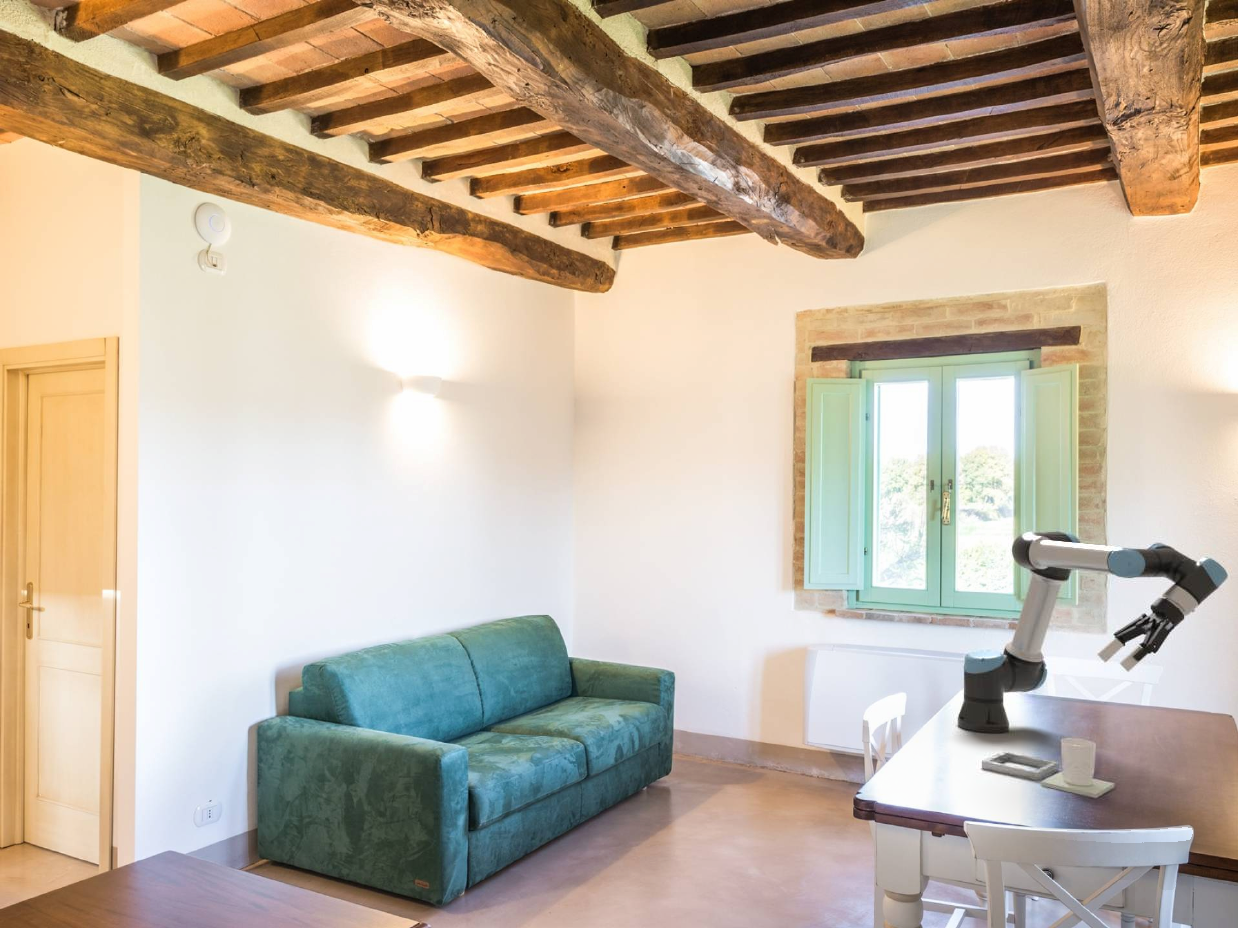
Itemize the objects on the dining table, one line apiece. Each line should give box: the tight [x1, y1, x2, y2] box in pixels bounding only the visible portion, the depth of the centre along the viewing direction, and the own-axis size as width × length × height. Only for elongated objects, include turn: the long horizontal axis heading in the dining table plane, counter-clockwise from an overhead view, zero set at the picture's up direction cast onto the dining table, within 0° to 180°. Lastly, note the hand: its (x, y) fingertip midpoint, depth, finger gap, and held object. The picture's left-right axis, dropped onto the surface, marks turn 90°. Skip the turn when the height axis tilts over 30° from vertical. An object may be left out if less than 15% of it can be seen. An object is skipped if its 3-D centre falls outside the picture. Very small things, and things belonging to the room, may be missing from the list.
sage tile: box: [1040, 771, 1115, 799], centre depth 239 cm, size 13×13×1 cm
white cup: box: [1060, 737, 1097, 786], centre depth 239 cm, size 8×8×10 cm
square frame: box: [981, 750, 1059, 782], centre depth 253 cm, size 14×14×2 cm
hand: (1112, 662), depth 247 cm, fingers open, 13 cm apart
